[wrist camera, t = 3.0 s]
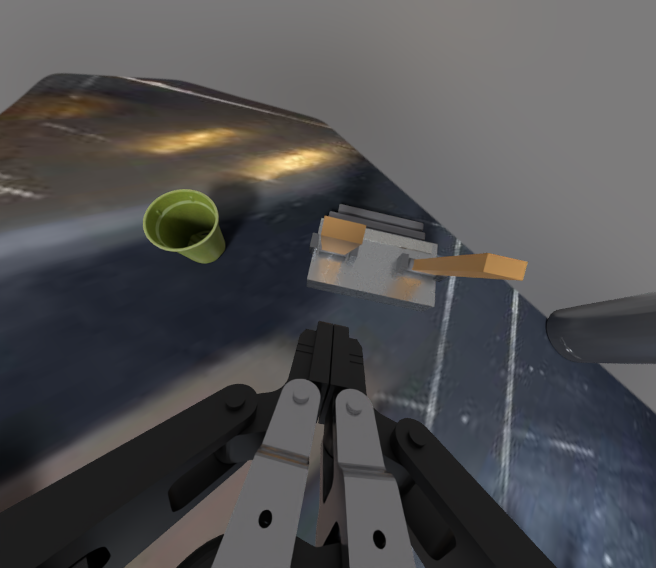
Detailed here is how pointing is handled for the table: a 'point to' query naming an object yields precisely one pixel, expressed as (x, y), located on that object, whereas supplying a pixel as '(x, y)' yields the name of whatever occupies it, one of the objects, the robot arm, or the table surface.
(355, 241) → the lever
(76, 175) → the table surface
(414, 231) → the stepped grey slab
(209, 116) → the table surface
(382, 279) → the breaker box
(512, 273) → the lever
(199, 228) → the plant pot
